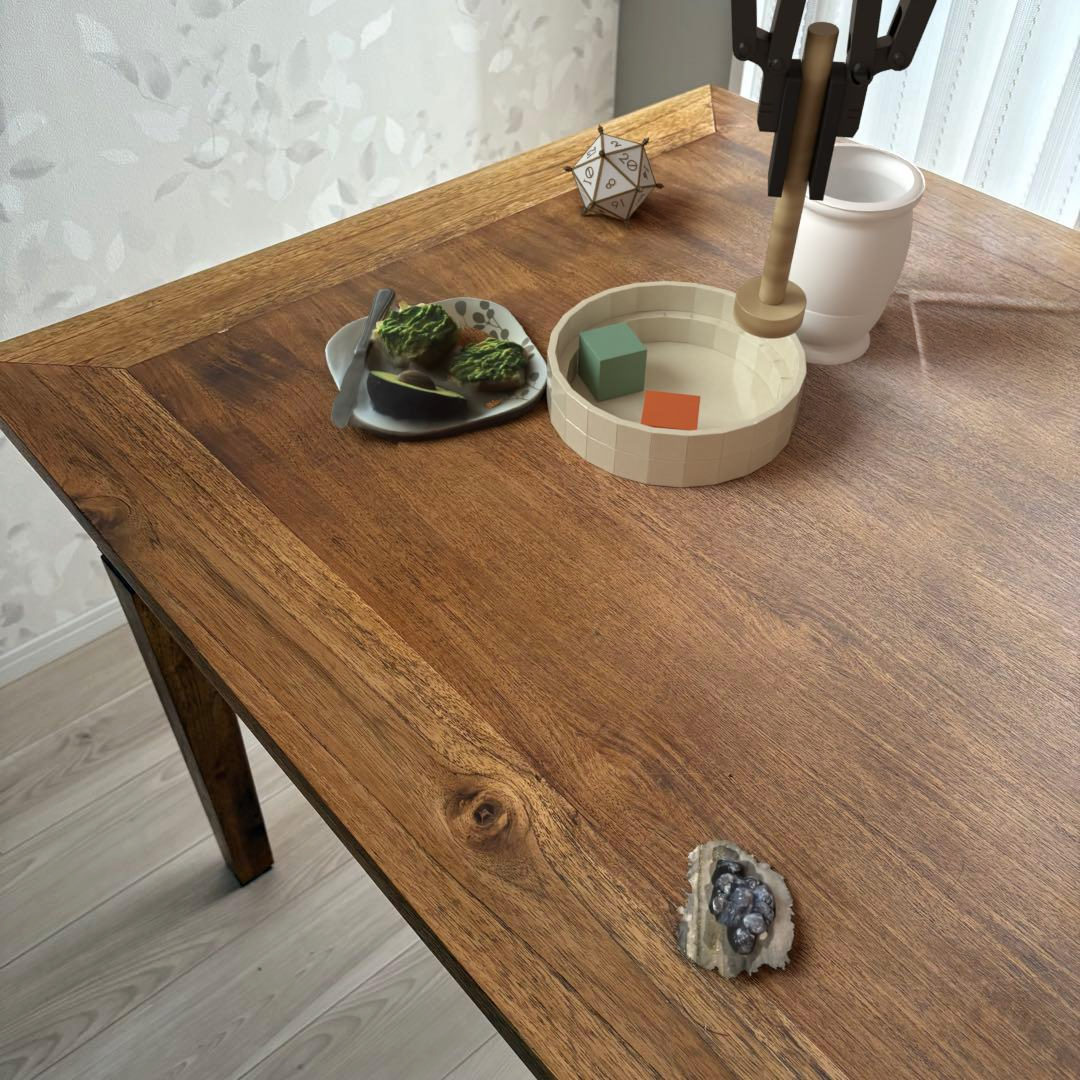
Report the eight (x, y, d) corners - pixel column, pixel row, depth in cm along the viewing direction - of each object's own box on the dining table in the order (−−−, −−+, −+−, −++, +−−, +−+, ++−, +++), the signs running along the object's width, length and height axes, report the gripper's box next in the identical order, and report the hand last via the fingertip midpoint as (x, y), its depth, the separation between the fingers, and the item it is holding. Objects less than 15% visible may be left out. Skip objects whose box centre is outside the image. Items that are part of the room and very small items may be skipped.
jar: (872, 388, 89) (919, 219, 78) (745, 363, 91) (773, 195, 81) (888, 316, 96) (932, 152, 85) (769, 294, 98) (798, 131, 88)
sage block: (644, 390, 88) (647, 349, 85) (597, 402, 87) (600, 360, 84) (622, 362, 90) (625, 321, 87) (577, 373, 89) (578, 332, 86)
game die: (628, 245, 111) (697, 171, 105) (590, 255, 104) (662, 176, 98) (570, 178, 112) (636, 101, 106) (530, 183, 105) (598, 101, 99)
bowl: (790, 347, 93) (801, 290, 89) (797, 504, 80) (811, 446, 76) (562, 328, 95) (563, 272, 91) (532, 480, 81) (532, 422, 77)
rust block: (694, 437, 84) (700, 395, 81) (691, 472, 81) (697, 430, 78) (642, 431, 84) (645, 389, 81) (636, 466, 81) (640, 424, 79)
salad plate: (292, 324, 95) (284, 278, 91) (491, 285, 99) (489, 239, 96) (344, 468, 82) (337, 419, 79) (569, 415, 86) (571, 367, 83)
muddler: (815, 311, 71) (882, 23, 57) (781, 348, 69) (843, 59, 54) (754, 285, 73) (805, 0, 58) (720, 321, 70) (763, 33, 56)
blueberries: (687, 994, 55) (691, 978, 54) (647, 849, 61) (649, 832, 59) (817, 970, 56) (824, 953, 55) (765, 829, 61) (770, 811, 60)
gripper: (710, -338, 44) (659, 209, 60) (1097, -326, 42) (935, 232, 59) (717, -366, 49) (669, 146, 66) (1062, -356, 47) (922, 165, 64)
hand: (795, 186), depth 62 cm, fingers closed on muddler, 2 cm apart
